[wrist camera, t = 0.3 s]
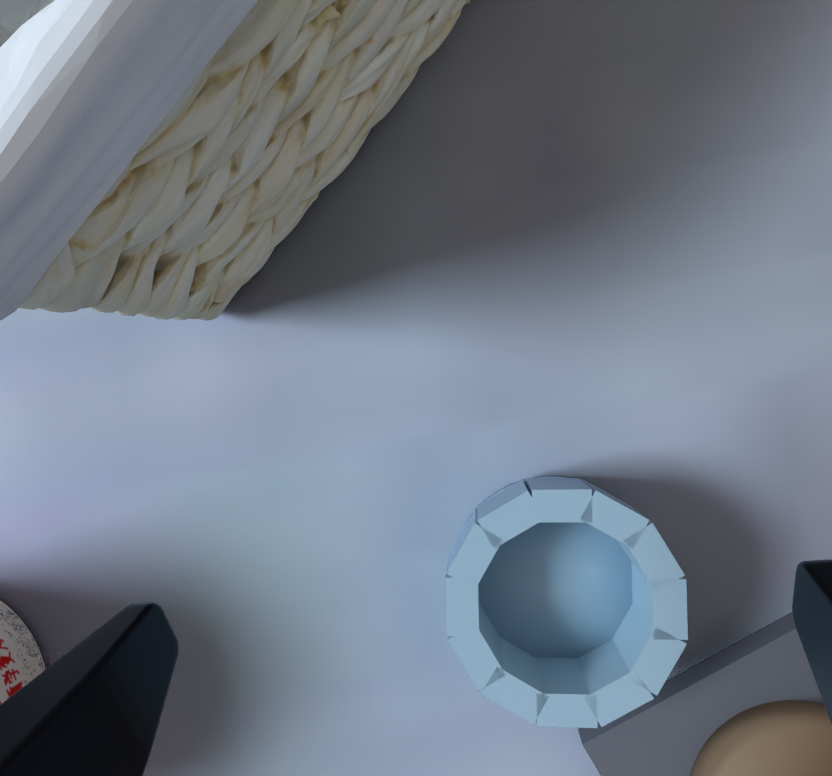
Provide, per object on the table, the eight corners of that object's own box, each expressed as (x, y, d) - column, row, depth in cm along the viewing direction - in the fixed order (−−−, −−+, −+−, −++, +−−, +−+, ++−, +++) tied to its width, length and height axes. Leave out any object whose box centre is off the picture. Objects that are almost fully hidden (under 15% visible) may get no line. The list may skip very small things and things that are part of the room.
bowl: (695, 614, 23) (734, 654, 19) (518, 713, 23) (524, 769, 20) (586, 437, 23) (604, 445, 20) (414, 538, 24) (402, 564, 20)
